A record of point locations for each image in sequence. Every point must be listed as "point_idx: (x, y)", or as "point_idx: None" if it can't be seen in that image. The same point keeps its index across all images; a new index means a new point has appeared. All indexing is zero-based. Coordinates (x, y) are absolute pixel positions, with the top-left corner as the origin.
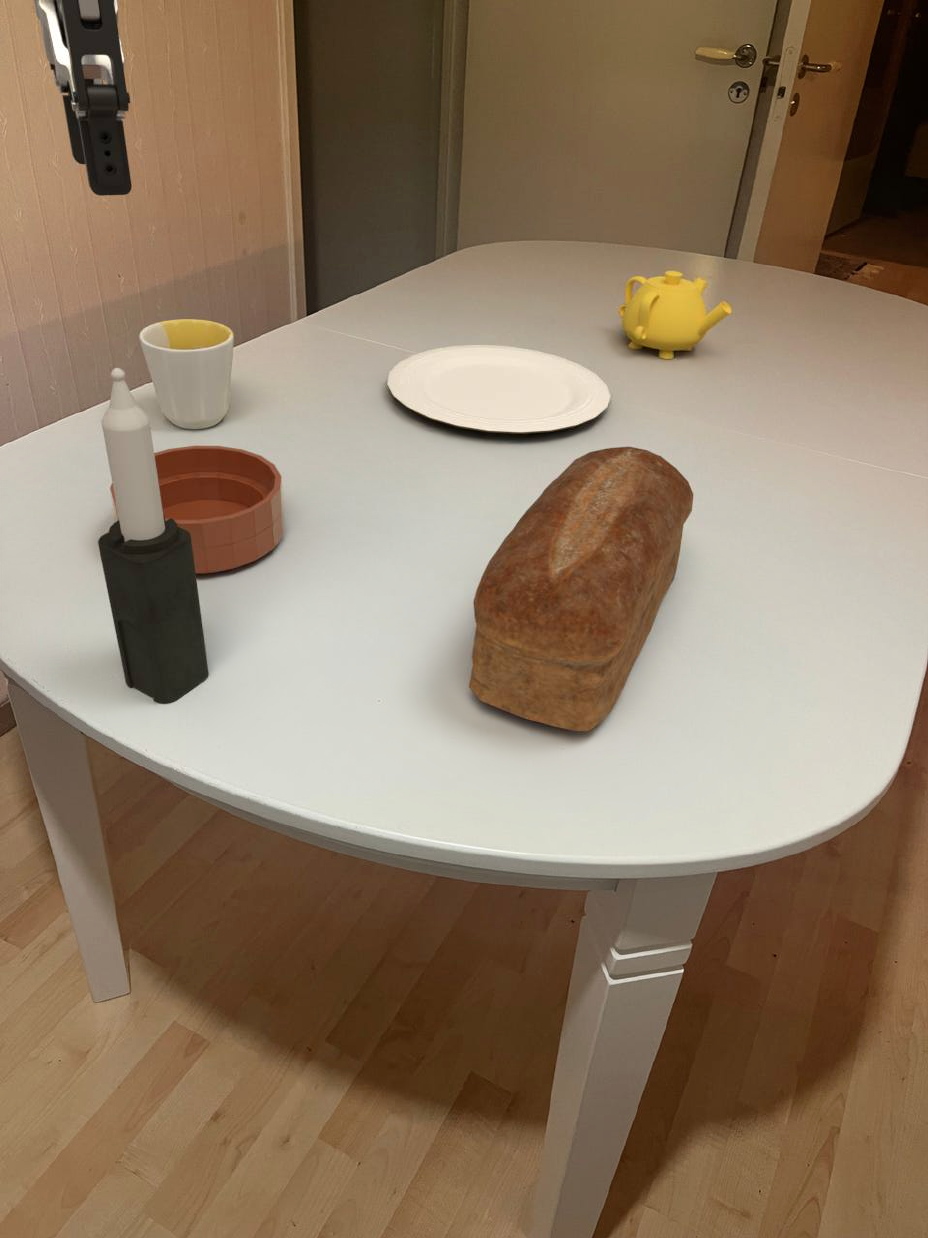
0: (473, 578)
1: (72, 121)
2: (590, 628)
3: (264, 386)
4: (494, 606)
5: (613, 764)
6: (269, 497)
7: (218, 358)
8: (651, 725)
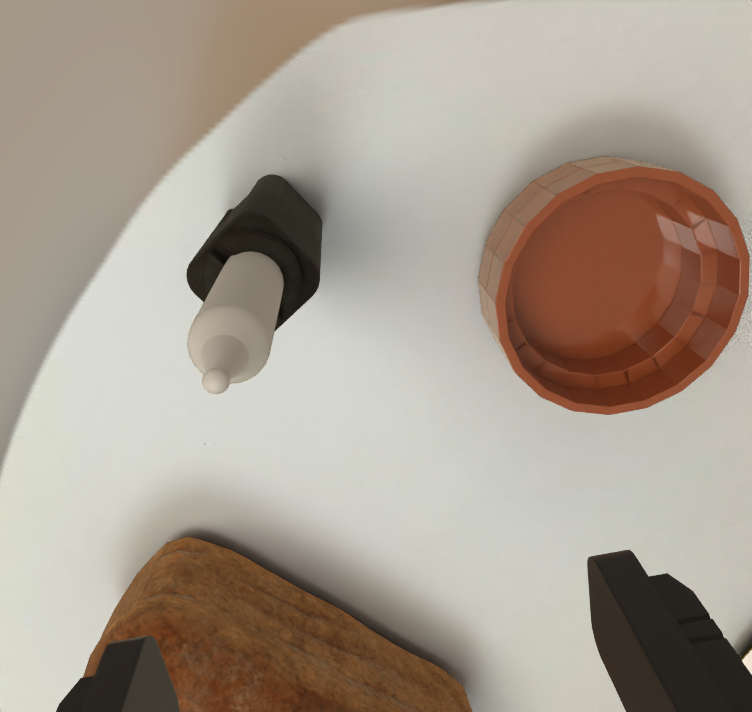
0: (415, 569)
1: (640, 660)
2: None
3: None
4: (135, 634)
5: (93, 620)
6: (547, 395)
7: None
8: None
